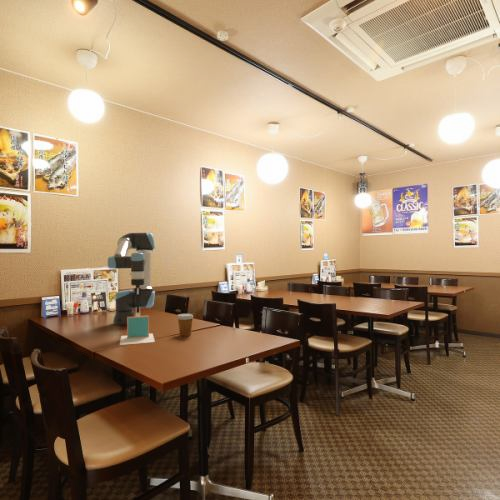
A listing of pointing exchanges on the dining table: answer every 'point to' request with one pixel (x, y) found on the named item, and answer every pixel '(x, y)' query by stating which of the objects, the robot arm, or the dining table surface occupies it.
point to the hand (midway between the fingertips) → (137, 317)
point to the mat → (136, 340)
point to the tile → (137, 326)
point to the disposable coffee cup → (185, 324)
